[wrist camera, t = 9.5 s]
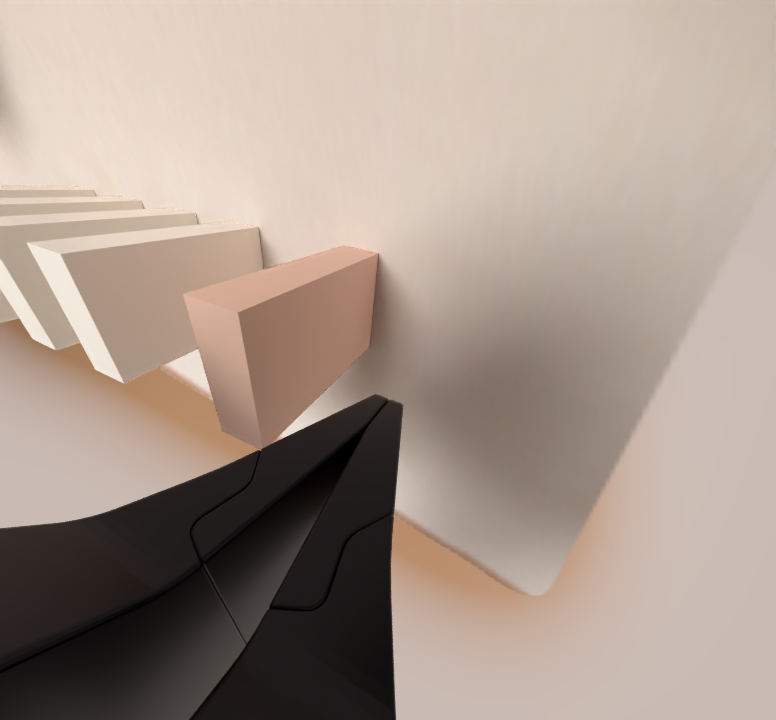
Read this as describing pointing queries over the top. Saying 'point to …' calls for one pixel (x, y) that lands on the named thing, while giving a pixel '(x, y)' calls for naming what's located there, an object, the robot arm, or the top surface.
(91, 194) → the domino
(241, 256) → the domino
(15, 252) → the domino
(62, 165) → the top surface
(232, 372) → the domino
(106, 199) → the domino
